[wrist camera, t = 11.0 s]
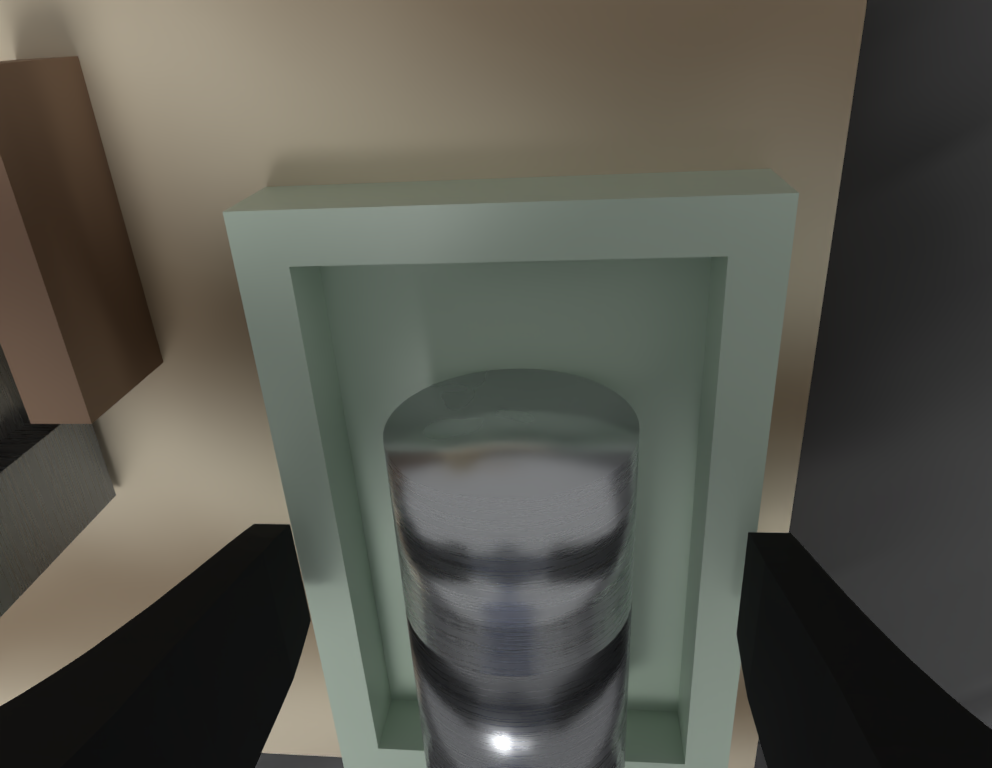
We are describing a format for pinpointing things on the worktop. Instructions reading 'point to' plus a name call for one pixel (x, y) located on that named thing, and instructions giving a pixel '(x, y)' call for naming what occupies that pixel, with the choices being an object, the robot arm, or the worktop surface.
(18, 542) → the grey stepped block
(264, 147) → the board
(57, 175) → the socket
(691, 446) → the tray
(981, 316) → the worktop surface
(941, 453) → the worktop surface
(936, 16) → the worktop surface
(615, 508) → the grey cylinder
